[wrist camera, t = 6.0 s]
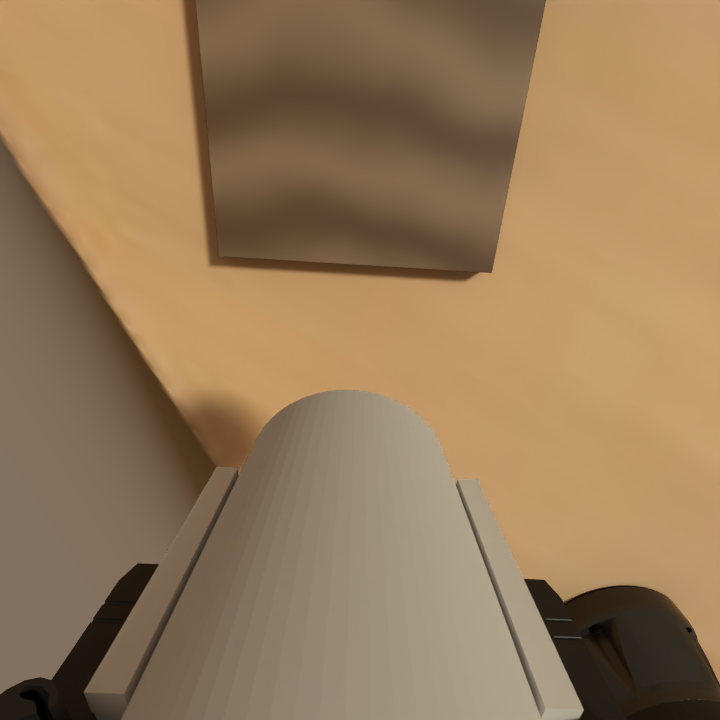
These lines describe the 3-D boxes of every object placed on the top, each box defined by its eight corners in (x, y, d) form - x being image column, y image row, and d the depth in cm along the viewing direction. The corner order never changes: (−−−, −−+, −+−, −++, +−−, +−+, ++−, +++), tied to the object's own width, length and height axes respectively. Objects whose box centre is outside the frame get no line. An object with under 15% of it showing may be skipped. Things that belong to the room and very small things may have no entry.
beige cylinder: (222, 510, 15) (-178, 1346, 4) (296, 354, 12) (-307, 1587, 1) (387, 570, 16) (444, 1319, 5) (485, 441, 14) (1039, 1404, 3)
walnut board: (483, 269, 24) (491, 272, 23) (226, 253, 24) (218, 256, 22) (542, -39, 18) (557, -60, 17) (200, -68, 18) (187, -92, 16)
